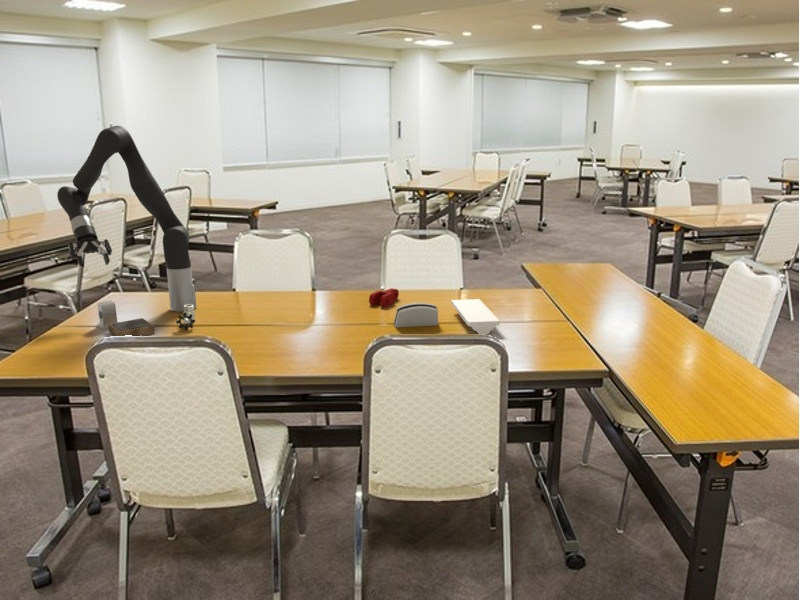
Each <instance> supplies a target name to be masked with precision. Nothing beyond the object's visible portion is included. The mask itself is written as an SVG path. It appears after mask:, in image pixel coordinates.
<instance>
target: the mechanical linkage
mask: <svg viewBox="0 0 800 600" xmlns="http://www.w3.org/2000/svg"><path fill="white" fill-rule="evenodd" d="M399 295H400V294H399V290H398V289H397V288H389V289H386V290H376V291H374V292H372V293H370V295H369V298H368V303H369V305H370V306H376V305H377V306H378V305H380V307H382V308H387V307H391V306H392V305H394V304H395V301H397V300H398V298H399Z"/></svg>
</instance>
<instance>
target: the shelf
mask: <svg viewBox="0 0 800 600" xmlns="http://www.w3.org/2000/svg"><path fill="white" fill-rule="evenodd" d="M450 304H451V305H452V307H453V308H454V309H455V311H456V312H457V314H458V315H459V316H460V317H461V319H462V320H463V322H465V324H466V325H467V326H468V327H471V329H472V330H473V331H474V332H475V331H476V332H477V334H478V335H479V334H487V335H489V333H491V331H494V329H495V327H496V326H497V327H498V326H500V323H501V320H500V319H499V318H498V317H497V316H496V315H495V314H494V313H493V312H492V311H491V310H490V309H489V308H488V307H487V306H486V304H485V303H484V302H483V301H482V300H481V299H480V298H472V299H450Z"/></svg>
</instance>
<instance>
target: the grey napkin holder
mask: <svg viewBox="0 0 800 600" xmlns="http://www.w3.org/2000/svg"><path fill="white" fill-rule="evenodd" d="M393 325H394V327H395V328H409V327H412V328H413V327H428V326H429V327H431V326H439V310H438V306H437V305H435V304H432V303H426V302H412V303H406V304H402V305H400V306H398V307H397V308H396V312H395V316H394V320H393Z"/></svg>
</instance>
